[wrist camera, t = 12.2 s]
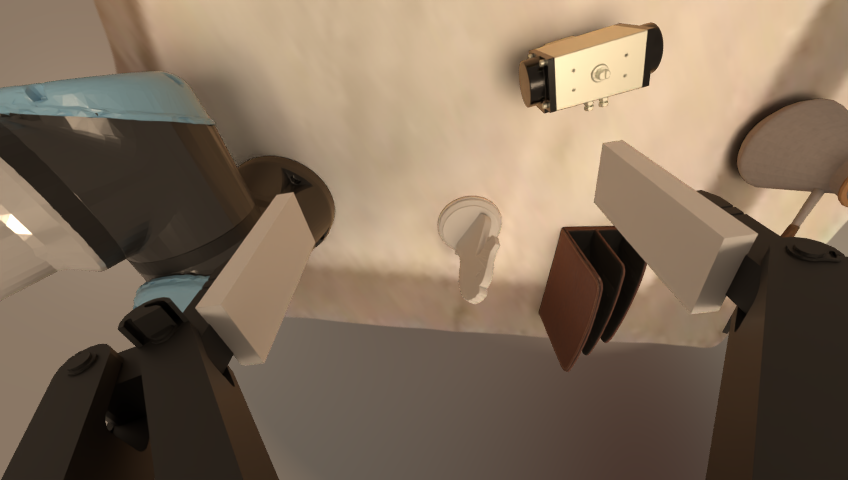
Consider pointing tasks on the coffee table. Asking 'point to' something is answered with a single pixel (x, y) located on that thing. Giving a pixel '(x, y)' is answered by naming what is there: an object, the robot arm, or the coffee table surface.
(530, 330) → the coffee table surface
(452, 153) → the coffee table surface
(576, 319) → the letter holder
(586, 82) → the pneumatic valve
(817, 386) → the robot arm
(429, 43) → the coffee table surface
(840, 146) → the coffee pot
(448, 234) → the chess piece
